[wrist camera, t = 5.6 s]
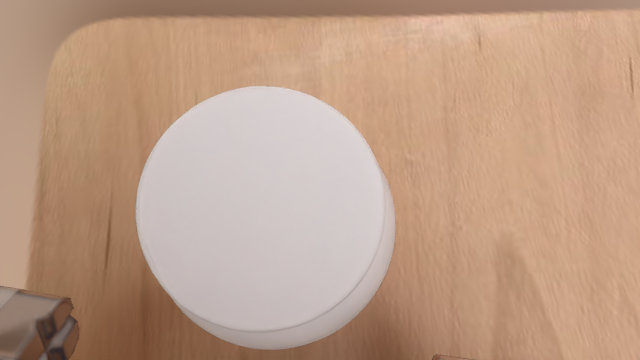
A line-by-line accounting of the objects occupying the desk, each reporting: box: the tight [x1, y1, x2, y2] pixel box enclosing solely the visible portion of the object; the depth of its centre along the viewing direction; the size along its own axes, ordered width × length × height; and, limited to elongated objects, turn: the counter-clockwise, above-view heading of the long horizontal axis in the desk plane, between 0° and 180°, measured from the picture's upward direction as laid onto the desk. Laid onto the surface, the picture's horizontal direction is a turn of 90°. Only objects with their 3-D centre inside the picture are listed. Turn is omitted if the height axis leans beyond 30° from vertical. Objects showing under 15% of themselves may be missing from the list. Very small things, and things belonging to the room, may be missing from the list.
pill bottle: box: [136, 86, 396, 350], centre depth 14 cm, size 6×6×11 cm
